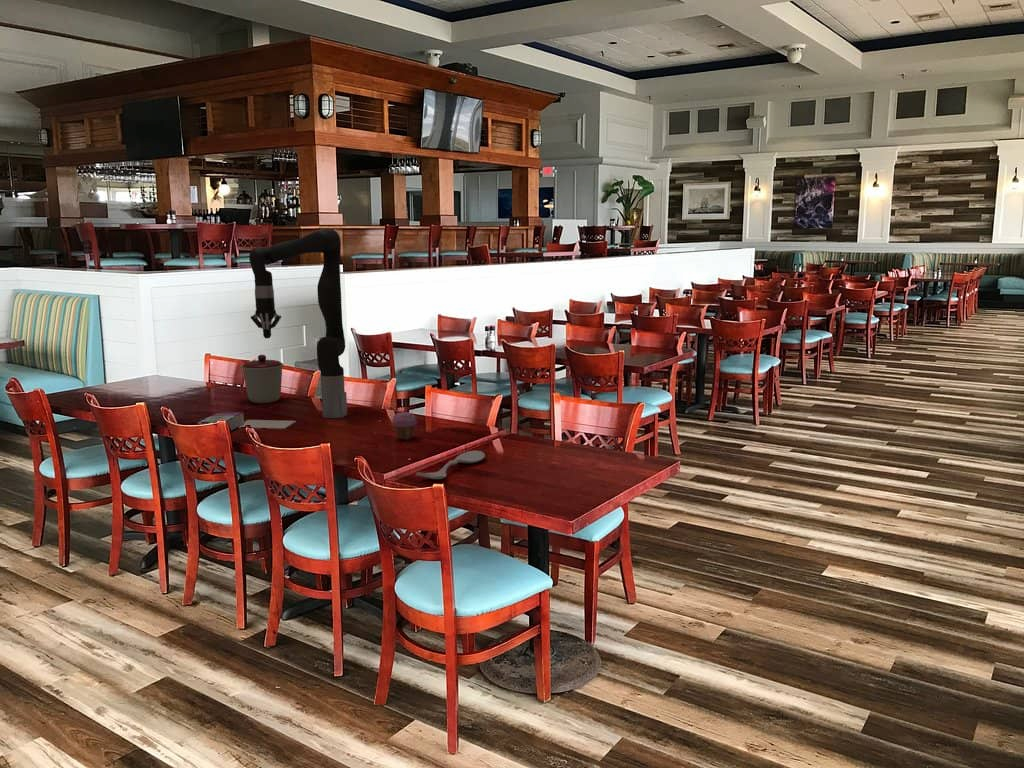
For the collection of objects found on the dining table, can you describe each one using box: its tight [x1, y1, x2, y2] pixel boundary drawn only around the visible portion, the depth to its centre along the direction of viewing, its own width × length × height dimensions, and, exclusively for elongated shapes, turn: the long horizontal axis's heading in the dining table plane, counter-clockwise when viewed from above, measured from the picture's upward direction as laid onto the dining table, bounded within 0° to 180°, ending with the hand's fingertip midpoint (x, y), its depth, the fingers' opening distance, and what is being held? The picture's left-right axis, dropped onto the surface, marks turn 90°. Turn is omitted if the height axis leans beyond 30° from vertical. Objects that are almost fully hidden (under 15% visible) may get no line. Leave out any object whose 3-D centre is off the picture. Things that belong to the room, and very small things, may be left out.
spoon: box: [415, 450, 486, 480], centre depth 261 cm, size 9×32×4 cm, turn 154°
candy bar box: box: [197, 411, 245, 432], centre depth 316 cm, size 11×5×16 cm
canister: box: [240, 354, 284, 404], centre depth 365 cm, size 18×18×21 cm
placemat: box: [237, 419, 297, 430], centre depth 323 cm, size 20×12×1 cm, turn 83°
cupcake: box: [392, 411, 418, 441], centre depth 299 cm, size 9×9×10 cm
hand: (267, 338), depth 342 cm, fingers closed
